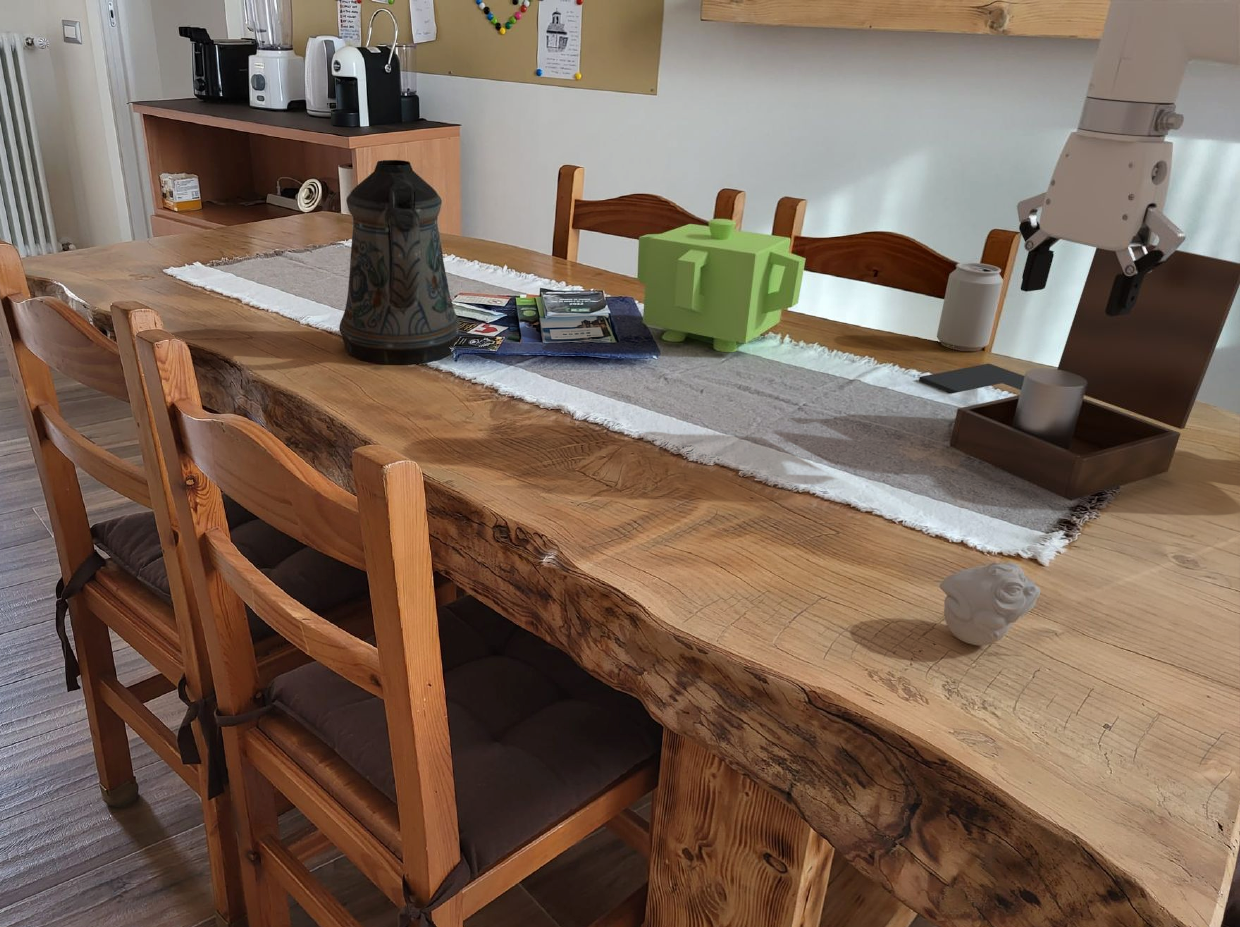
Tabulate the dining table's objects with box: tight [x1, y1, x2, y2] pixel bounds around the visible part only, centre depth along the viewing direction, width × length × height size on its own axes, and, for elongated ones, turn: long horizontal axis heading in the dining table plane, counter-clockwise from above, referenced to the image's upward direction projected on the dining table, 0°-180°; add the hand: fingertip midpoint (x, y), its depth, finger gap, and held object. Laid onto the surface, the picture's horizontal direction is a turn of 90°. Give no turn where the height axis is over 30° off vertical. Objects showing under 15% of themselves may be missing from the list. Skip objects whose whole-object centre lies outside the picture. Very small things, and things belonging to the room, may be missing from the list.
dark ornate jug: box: [338, 159, 461, 366], centre depth 134 cm, size 16×19×25 cm
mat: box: [918, 363, 1025, 394], centre depth 133 cm, size 14×14×1 cm
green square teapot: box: [636, 218, 807, 353], centre depth 147 cm, size 25×23×17 cm
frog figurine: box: [939, 561, 1041, 646], centre depth 77 cm, size 6×7×7 cm
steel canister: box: [1012, 367, 1087, 451], centre depth 107 cm, size 6×6×10 cm
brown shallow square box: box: [949, 394, 1181, 502], centre depth 110 cm, size 17×16×5 cm
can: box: [936, 262, 1004, 352], centre depth 148 cm, size 8×8×12 cm
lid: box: [1057, 244, 1240, 430], centre depth 110 cm, size 17×16×5 cm
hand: (1073, 301), depth 101 cm, fingers open, 9 cm apart
